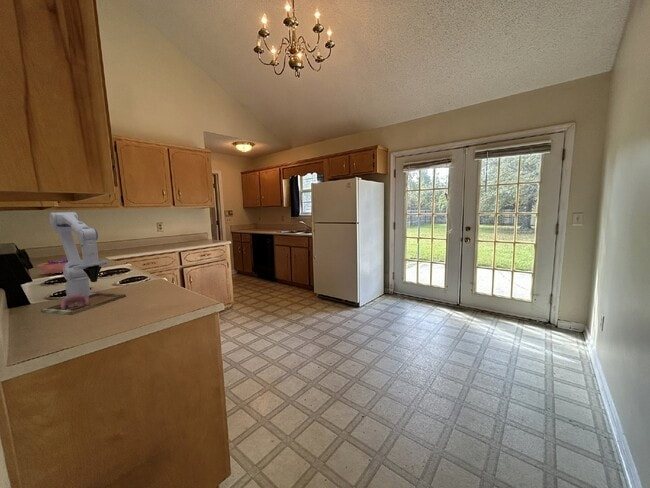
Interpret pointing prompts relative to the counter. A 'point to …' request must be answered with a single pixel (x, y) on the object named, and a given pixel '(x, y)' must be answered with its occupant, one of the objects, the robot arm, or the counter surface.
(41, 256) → the counter surface
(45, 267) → the cell model
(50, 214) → the robot arm
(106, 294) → the shallow wooden tray
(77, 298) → the video game controller
